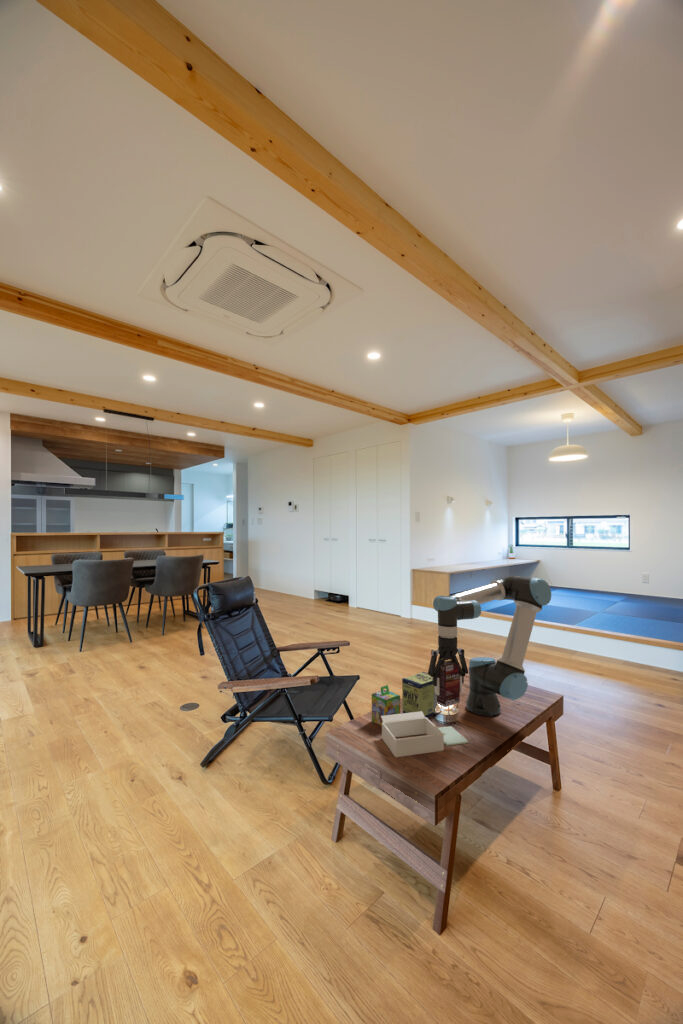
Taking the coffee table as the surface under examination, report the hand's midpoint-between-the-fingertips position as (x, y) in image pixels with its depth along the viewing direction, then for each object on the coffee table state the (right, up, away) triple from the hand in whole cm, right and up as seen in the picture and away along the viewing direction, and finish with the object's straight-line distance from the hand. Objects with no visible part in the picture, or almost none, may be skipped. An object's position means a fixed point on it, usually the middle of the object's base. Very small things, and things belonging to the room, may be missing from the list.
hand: (448, 692), depth 161 cm
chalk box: (-24, -18, +11) cm, 32 cm away
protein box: (-6, -19, +21) cm, 29 cm away
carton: (-16, -16, -7) cm, 24 cm away
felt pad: (0, -17, -1) cm, 17 cm away
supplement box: (0, -4, 0) cm, 4 cm away
